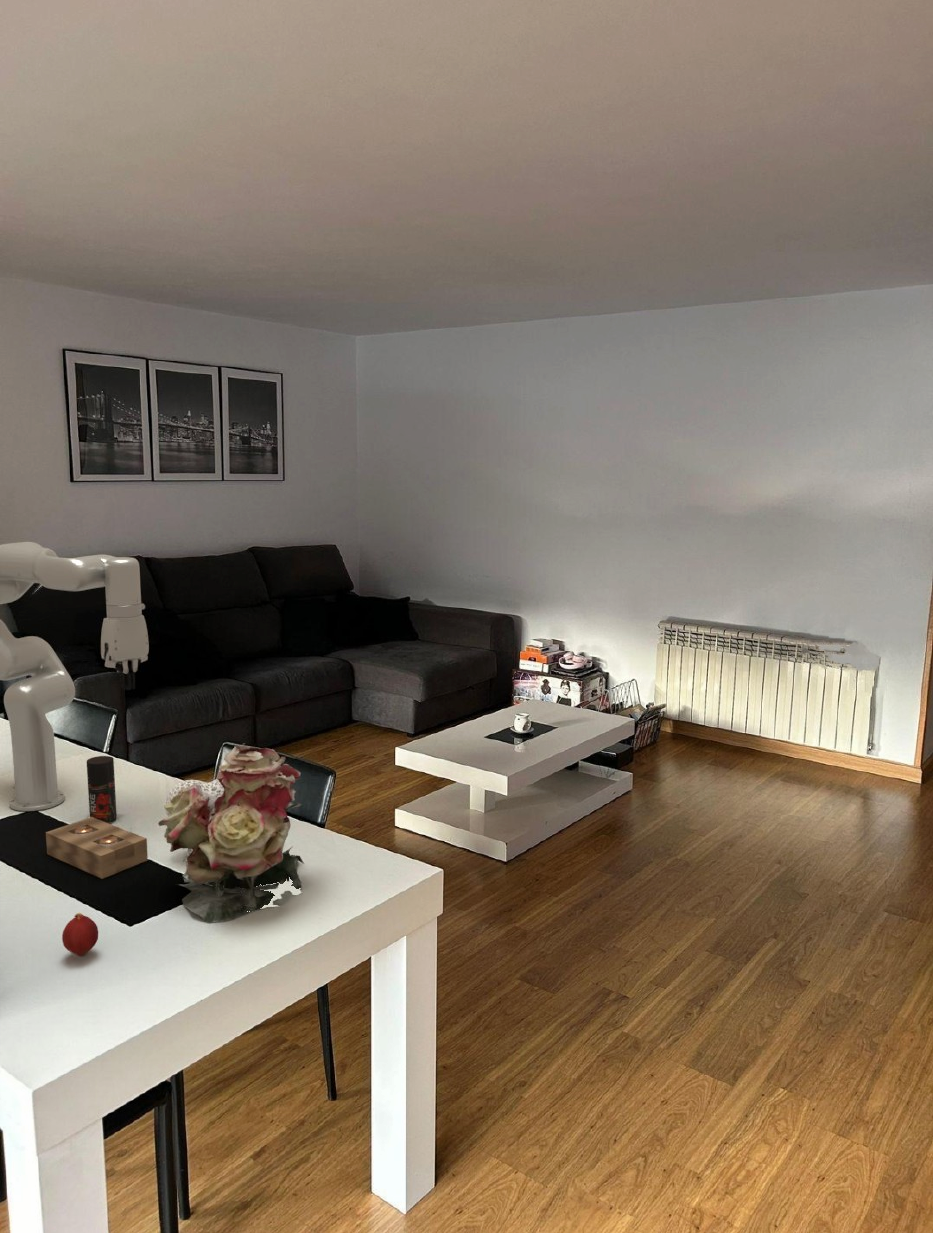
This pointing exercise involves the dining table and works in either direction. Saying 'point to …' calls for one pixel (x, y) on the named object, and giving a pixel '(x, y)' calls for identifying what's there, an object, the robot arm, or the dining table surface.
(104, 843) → the plunger
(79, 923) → the onion
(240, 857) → the rose bouquet
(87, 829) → the plunger
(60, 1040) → the dining table surface
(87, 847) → the socket block
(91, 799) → the deodorant
